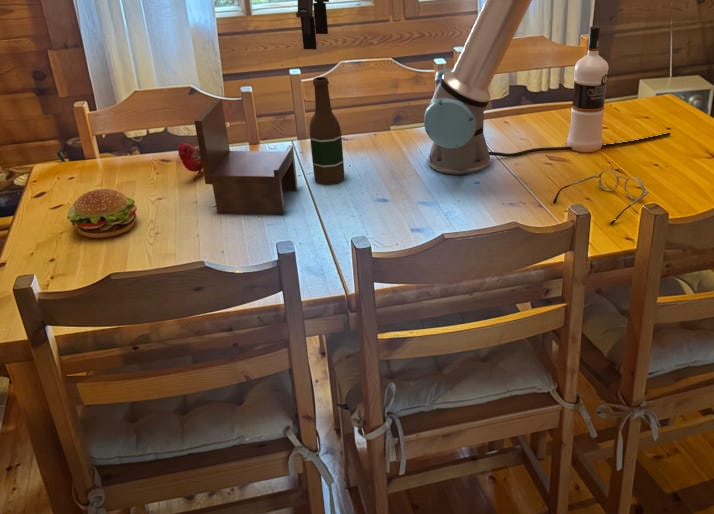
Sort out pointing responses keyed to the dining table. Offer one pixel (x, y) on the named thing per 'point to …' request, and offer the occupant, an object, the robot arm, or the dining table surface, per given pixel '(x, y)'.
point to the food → (103, 213)
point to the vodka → (588, 98)
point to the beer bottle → (325, 138)
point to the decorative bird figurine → (190, 158)
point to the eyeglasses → (610, 190)
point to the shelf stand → (242, 169)
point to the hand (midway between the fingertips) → (316, 41)
